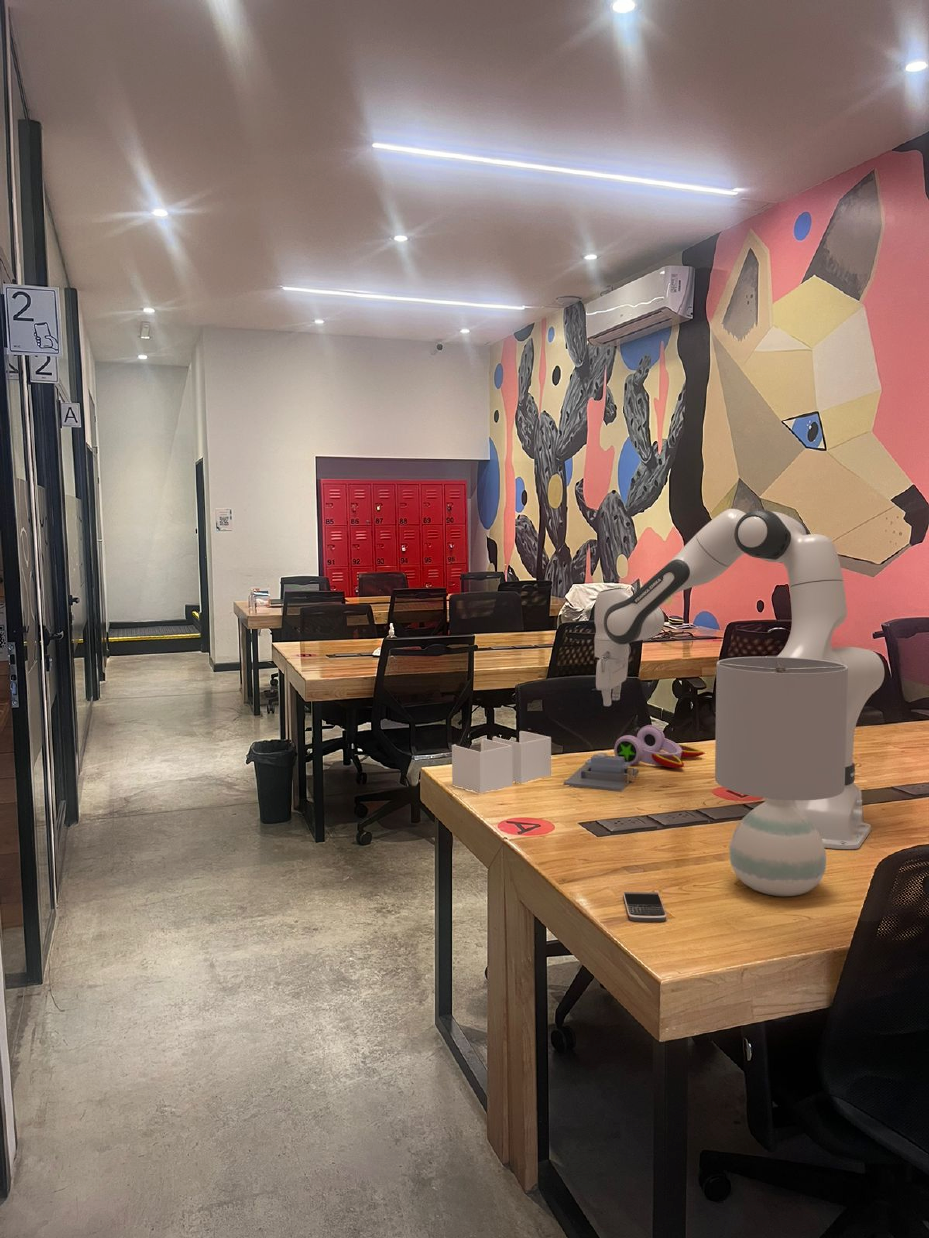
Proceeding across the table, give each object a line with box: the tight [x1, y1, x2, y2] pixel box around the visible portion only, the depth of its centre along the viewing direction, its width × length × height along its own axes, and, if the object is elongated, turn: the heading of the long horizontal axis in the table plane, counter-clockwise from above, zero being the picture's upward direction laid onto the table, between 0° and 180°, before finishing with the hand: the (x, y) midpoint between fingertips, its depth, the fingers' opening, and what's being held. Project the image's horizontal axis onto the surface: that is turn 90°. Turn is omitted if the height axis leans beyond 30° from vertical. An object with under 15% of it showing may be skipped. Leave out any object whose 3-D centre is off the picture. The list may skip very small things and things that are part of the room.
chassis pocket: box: [563, 764, 640, 792], centre depth 231 cm, size 20×15×2 cm
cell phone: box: [622, 891, 667, 923], centre depth 149 cm, size 6×11×1 cm, turn 175°
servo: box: [584, 752, 636, 783], centre depth 230 cm, size 4×12×7 cm, turn 67°
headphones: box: [613, 724, 706, 769], centre depth 249 cm, size 20×10×20 cm
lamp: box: [714, 656, 848, 897], centre depth 155 cm, size 22×22×40 cm
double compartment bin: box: [451, 730, 552, 794], centre depth 229 cm, size 25×11×11 cm, turn 130°
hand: (611, 702), depth 229 cm, fingers open, 8 cm apart
